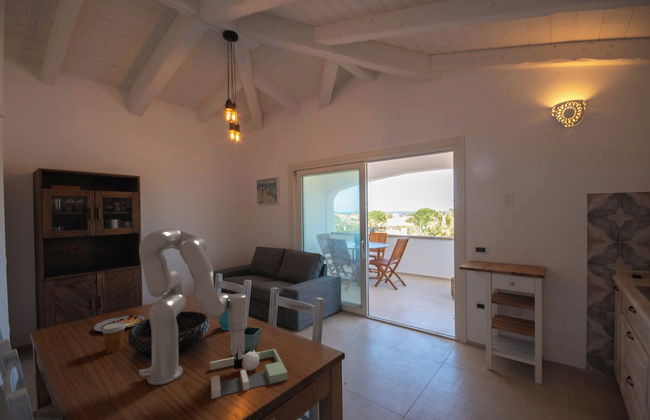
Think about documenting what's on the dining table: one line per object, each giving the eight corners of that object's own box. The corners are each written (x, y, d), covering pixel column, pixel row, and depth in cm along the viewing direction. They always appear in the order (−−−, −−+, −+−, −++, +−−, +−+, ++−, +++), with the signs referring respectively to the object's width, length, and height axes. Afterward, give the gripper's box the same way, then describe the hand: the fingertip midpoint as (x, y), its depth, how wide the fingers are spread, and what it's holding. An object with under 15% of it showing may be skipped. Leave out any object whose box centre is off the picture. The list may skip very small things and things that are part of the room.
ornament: (238, 368, 120) (246, 348, 125) (255, 373, 121) (262, 353, 125) (238, 367, 115) (246, 346, 119) (255, 373, 115) (263, 352, 120)
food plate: (143, 315, 185) (142, 310, 185) (148, 326, 167) (148, 320, 167) (93, 325, 169) (93, 319, 169) (94, 338, 151) (93, 332, 151)
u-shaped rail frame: (211, 398, 101) (211, 390, 101) (210, 368, 120) (210, 361, 120) (287, 379, 112) (287, 372, 112) (275, 355, 131) (275, 348, 131)
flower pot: (254, 354, 132) (253, 335, 132) (236, 352, 134) (236, 333, 134) (261, 345, 141) (261, 327, 141) (245, 344, 143) (245, 326, 143)
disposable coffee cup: (129, 344, 144) (129, 320, 144) (120, 353, 135) (120, 328, 135) (107, 346, 141) (107, 322, 142) (97, 356, 132) (97, 330, 132)
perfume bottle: (238, 326, 165) (238, 300, 165) (225, 332, 157) (225, 305, 157) (228, 323, 170) (228, 298, 170) (215, 328, 162) (215, 302, 162)
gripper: (227, 319, 124) (227, 361, 124) (230, 332, 110) (230, 379, 110) (244, 316, 127) (245, 357, 127) (249, 329, 113) (249, 375, 113)
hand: (238, 367), depth 119 cm, fingers closed
